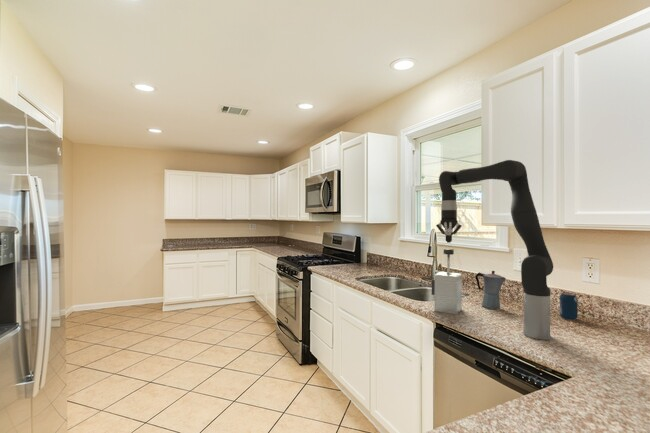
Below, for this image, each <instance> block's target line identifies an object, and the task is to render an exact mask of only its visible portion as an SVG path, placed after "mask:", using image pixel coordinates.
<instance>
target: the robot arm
mask: <svg viewBox="0 0 650 433" xmlns="http://www.w3.org/2000/svg"><path fill="white" fill-rule="evenodd" d="M485 180H486V181H487V180H499V181H504V182H508V185H509V188H510V190H511V202H510V203H511V204H510V215H511V218H512V219H511V220H512V224H513V225H514V228H515V230H516V232H517V233H518V235H519V237H520V238H521V239H522V241H523V242H524V245H525V246H526V251H527V256H526V257H524V259H522V261H521V265H520V266H521V267H520V272H521V274H520V275H521V286H522V288H523V313H522V314H523V319H522V320H523V324H522V325H523V327H522V329H523V332H522V333H523V335H524V336H526V337H529V338H532V339H537V340H547V341H550V340H551V289H550V287H549V286H548V282H547V277H548V276H549V275H551V274H552V273H553V270H554V263H553V260H552V257H551V255H550V252H549V250H548V248H547V245H546V242H545V239H544V235H543V231H542V228H541V224H540V221H539V217H538V213H537V210H536V206H535V204H534V200H533V197H532V193H531V189H530V186H529V180H528V171H527V167H526V166H525V165H524V164H523V163H522V162H521V161H519V160H518V161H517V160H512V159H505V160H503V161H499V162H497V163H493V164H490V165H486V166H480V167H472V168H463V169H460V170H459V171H451V170H450V171H449V170H443V171H442V172H441V173H440V174H439V177H438V184H439V187H440V191H441V205H440V206H441V207H440V208H441V210H440V211H441V212H440V214H441V219H440V222H439V223H438V224H436V225H435V226H436V228H437V229H438V230H439V231H440V233H441V234H442V235H444V236H445V242H446V243H447V244H448V243H451V242H452V241H453V235H456V234H457V233H458V231H459V230H460V229H461V228H462V227H463V225H462V224H460V223H459V221H458V220H457V215H458V212H457V209H458V207H457V206H458V205H457V191H456V190H455V189H453V187H452V186H456V185H462V184H469V183H478V182H481V181H485ZM455 227H456V228H455ZM443 228H444V229H443ZM454 228H455V229H454Z"/></svg>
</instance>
